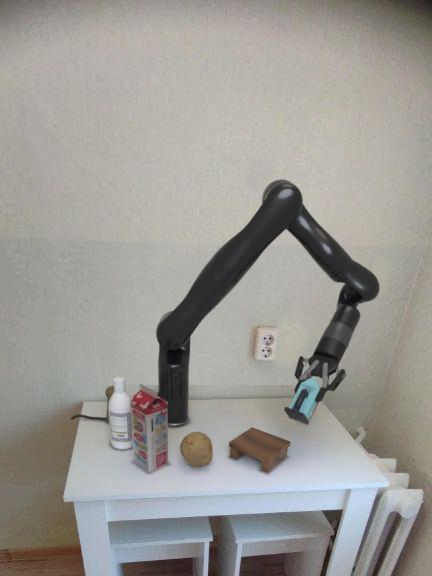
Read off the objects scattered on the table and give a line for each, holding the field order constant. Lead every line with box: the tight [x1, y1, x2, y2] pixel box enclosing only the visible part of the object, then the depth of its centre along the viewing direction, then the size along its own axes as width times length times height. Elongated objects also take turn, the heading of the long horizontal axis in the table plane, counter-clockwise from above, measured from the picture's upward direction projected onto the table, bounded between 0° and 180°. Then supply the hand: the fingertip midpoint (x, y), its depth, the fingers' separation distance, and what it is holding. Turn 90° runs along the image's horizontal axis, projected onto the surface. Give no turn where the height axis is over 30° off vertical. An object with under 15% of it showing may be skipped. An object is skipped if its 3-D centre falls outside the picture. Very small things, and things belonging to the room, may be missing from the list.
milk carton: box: [130, 383, 169, 473], centre depth 120 cm, size 7×7×22 cm
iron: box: [283, 376, 321, 426], centre depth 125 cm, size 12×6×7 cm
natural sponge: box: [179, 431, 214, 468], centre depth 124 cm, size 9×9×10 cm
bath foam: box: [108, 376, 133, 450], centre depth 128 cm, size 7×7×20 cm
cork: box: [104, 385, 114, 425], centre depth 143 cm, size 6×6×11 cm
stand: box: [228, 426, 291, 474], centre depth 131 cm, size 12×13×5 cm
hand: (306, 397), depth 126 cm, fingers closed on iron, 5 cm apart
